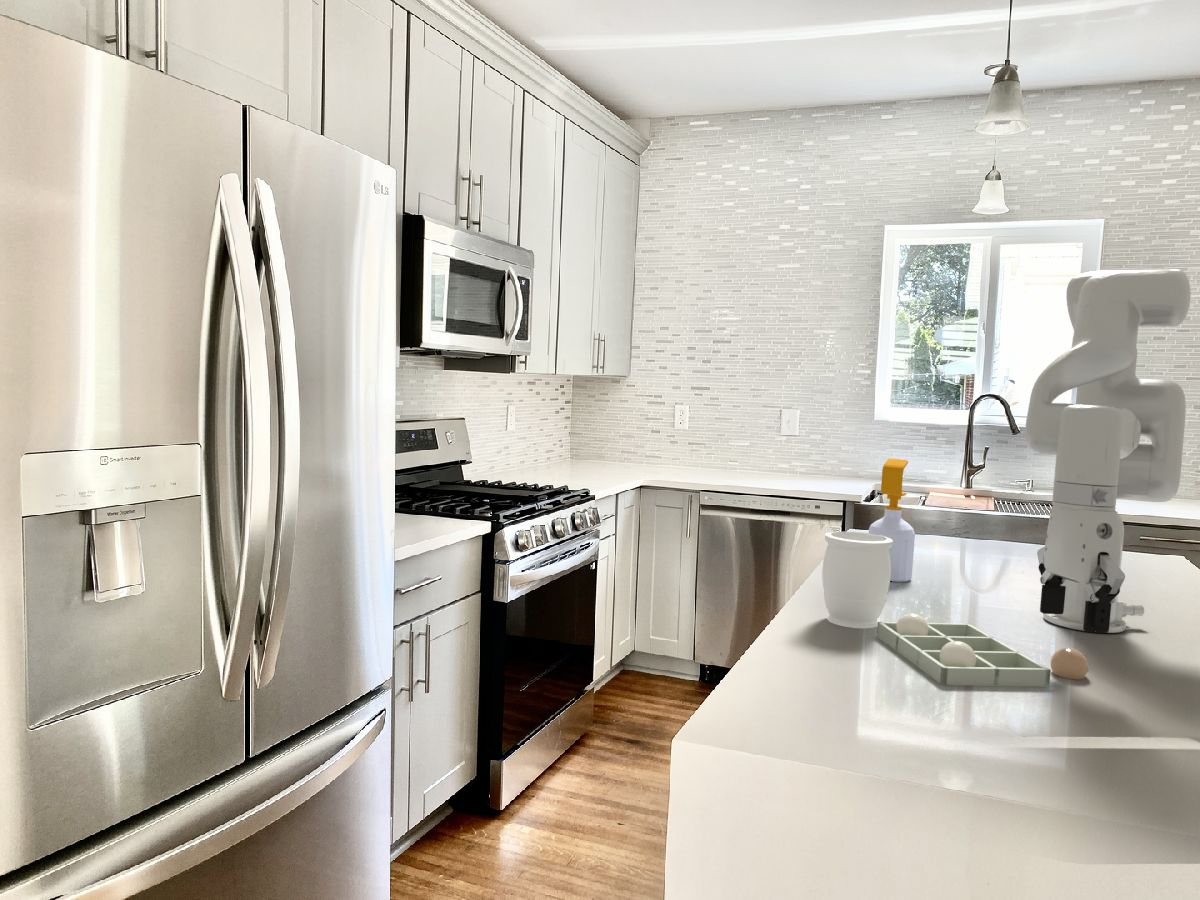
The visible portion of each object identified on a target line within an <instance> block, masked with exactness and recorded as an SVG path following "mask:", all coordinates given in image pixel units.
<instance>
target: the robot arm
mask: <svg viewBox="0 0 1200 900" xmlns="http://www.w3.org/2000/svg"><path fill="white" fill-rule="evenodd" d="M1065 296H1066V306H1067V312H1068V316H1069V319H1070V323H1071V327H1072V330H1073V336H1072V343H1071V348H1070V349H1068V350H1066V351H1065V352H1064V353H1062V354H1061V355H1060V356H1058V357H1056V359H1054V360H1053V361H1052V362H1051V363H1050V364H1048V365H1047V367H1045V369H1044V370H1043V371H1042V372H1041V373H1040V374H1039V375H1038V376H1037V379H1036V380H1035V382H1034V384H1033V387H1032V389H1031V393H1030V397H1029V402H1028V403H1029V404H1028V409H1027V415H1026V419H1025V420H1026V421H1025V430H1024V431H1025V440H1026V443H1027V445H1028V447H1029V449H1031V450H1033V452H1035V453H1037V454H1042V455H1046V456H1047V455H1048V456H1055V465H1054V479H1053V480H1054V481H1053V489H1052V502H1051V505H1052V506H1051V510H1050V514H1049V518H1048V524H1047V530H1046V537H1045V541H1044V542H1045V543H1044V546H1043V547H1041V548H1039V549H1038V550H1037V552H1036V555H1037V559H1038V571H1039V573H1040V577H1039V581H1040V584H1041V591H1040V592H1041V593H1040V606H1039V612H1040V613H1042V614H1043V615H1042V617H1043V619H1044V620H1046V621H1047V622H1048V623H1051V624H1054V625H1056V626H1060V627H1063V628H1067V629H1071V630H1077V631H1082V632H1086V633H1101V634H1117V633H1122V632H1124V631H1126V629H1127V623H1126V621H1125V620H1124V619H1123V618H1125V617H1127V616H1133V617H1135V616H1137V617H1142V616H1143V615H1144V614H1145V608H1144V605H1142V604H1127V603H1125V602H1124V601H1122V600H1119V594H1120V592H1121V587H1122V585H1123V583H1124V581H1125V579H1126V575H1125V572H1124V571H1122V559H1123V558H1122V557H1123V547H1124V539H1125V525H1124V522H1123V519H1122V518H1121V516H1120V515H1119V513H1118V511H1117V510H1116V505H1117V500H1125V501H1126V500H1127V501H1136V502H1149V503H1166V502H1169V501H1171V500H1172V499H1174V498H1175V496H1176V495H1177V493H1178V491H1179V489H1180V482H1181V474H1182V462H1183V461H1182V460H1183V452H1184V451H1183V450H1184V440H1185V439H1184V437H1185V426H1186V410H1187V409H1186V408H1187V407H1186V405H1187V403H1186V397H1185V393H1184V390H1183V388H1182V387H1181V385H1180V384H1178V383H1177V382H1176V381H1173V380H1168V379H1161V378H1138V377H1137V374H1136V372H1137V359H1138V348H1137V346H1138V345H1137V341H1138V334H1139V327H1146V328H1147V327H1155V328H1157V327H1158V328H1159V327H1165V328H1166V327H1167V328H1168V327H1169V328H1170V327H1178V326H1179V325H1181V324H1183V322H1184V321H1185V319H1186V317H1187V315H1188V313H1189V309H1190V304H1191V296H1192V295H1191V285H1190V281H1189V278H1188V276H1187V274H1186V272H1185V271H1183V270H1182V269H1171V268H1170V269H1169V268H1168V269H1114V270H1113V269H1111V270H1109V269H1108V270H1096V271H1095V270H1094V271H1089V272H1088V271H1087V272H1084V273H1080V274H1078V275H1076V276H1073V278H1071V279H1070V281H1069V282H1068V284H1067V288H1066V295H1065ZM1075 388H1076V395H1075V396H1076V397H1075V403H1063V402H1062V403H1061V402H1060V403H1059V402H1054V400H1055V399H1057V398H1058V397H1059V396H1060V395H1062V394H1064V393H1066V392H1068V391H1071V390H1072V389H1075ZM1141 436H1143V437H1146V438H1148V440H1149V441H1151V444H1148V443H1140V440H1141Z"/></svg>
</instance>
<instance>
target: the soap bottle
mask: <svg viewBox="0 0 1200 900" xmlns="http://www.w3.org/2000/svg"><path fill="white" fill-rule="evenodd" d="M908 464H909V460H908V459H899V458H898V459H897V458H888V459H887V460H886V461H885V463H884V464H883V466H882V469H881V470H882V471H881V483H880V484H881V485H880V494H882V495H887V497H886V498H887V499H888V500H889V503H888V504H889V505H884V514H883V517H881V518H880V519H877V520H875V521H874V522H873V523H871V524H870V525H869V527H868V533H869V534H875V535H880V536H884V537H888V538H891V539H892V540H893V544H892V546H891V547H890V548H889V550H888V551H889V555H890V563H891V577H890V581H892V583H904V582H908V581H911V580H912V579H913V565H914V554H915V553H914V552H915V551H914V550H915V539H916V533H915V529H914V528H913V526H912V525H911V524H910V523H908V522H907V521H905V520H904V519H903V518H902V512H903V511H902V509H903V508H902V506H901V505H900V506H899V500H900V501H901V500H902V497H904V496H907V492H903V478H904V472H905V471H904V470H905V468H906V467H907V465H908Z"/></svg>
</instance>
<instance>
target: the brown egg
mask: <svg viewBox="0 0 1200 900" xmlns="http://www.w3.org/2000/svg"><path fill="white" fill-rule="evenodd" d="M1049 665H1050V670H1051V671H1052V672H1051V673H1053V674H1054V675H1055V676H1057V677H1060V678H1065V679H1067V680H1083V679H1085V677H1086V676H1087V674H1088V672H1089V662H1088V660H1087V658H1086V656H1084V654H1083V653H1082V652H1080V651H1079V650H1077V649H1075V648H1072V647H1070V648H1069V647H1066V648H1060V649H1058V650H1057V651H1055V652H1054V653H1053V654H1052V656H1051V658H1050V664H1049Z"/></svg>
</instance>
